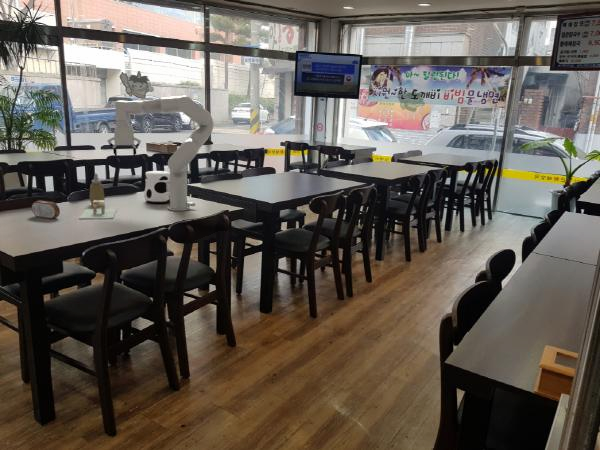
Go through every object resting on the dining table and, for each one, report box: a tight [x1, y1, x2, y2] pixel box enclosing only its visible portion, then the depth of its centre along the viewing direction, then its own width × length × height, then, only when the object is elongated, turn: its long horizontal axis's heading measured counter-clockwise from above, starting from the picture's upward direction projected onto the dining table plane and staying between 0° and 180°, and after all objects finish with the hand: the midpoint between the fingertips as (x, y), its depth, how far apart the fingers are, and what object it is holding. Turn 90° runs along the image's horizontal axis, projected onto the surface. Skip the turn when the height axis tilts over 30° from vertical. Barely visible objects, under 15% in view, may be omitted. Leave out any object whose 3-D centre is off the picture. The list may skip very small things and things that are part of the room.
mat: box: [78, 208, 118, 220], centre depth 256 cm, size 16×22×1 cm
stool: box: [92, 199, 106, 214], centre depth 255 cm, size 5×5×6 cm
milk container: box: [143, 170, 170, 204], centre depth 293 cm, size 17×17×18 cm
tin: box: [31, 200, 61, 220], centre depth 242 cm, size 15×3×8 cm, turn 74°
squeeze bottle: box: [89, 173, 106, 206], centre depth 276 cm, size 8×8×18 cm
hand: (125, 155), depth 267 cm, fingers open, 9 cm apart
